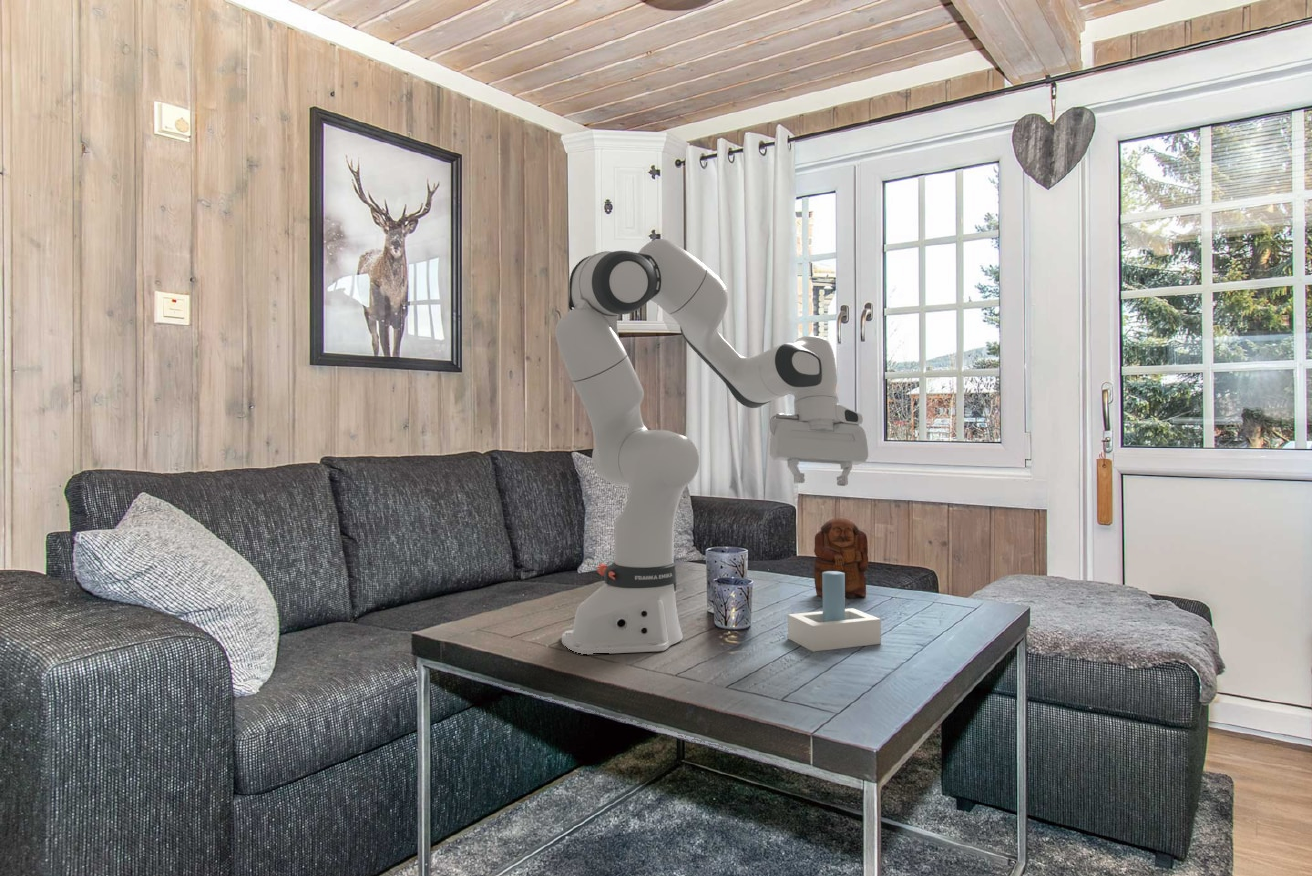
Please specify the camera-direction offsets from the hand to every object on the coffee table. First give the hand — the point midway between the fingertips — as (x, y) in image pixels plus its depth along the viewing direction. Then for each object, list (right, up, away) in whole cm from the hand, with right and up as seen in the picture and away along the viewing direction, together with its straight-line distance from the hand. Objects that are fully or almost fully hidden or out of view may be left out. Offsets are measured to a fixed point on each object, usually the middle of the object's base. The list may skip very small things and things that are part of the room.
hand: (821, 484), depth 154 cm
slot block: (0, -28, -10) cm, 30 cm away
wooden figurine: (+11, -28, +28) cm, 41 cm away
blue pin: (0, -28, -10) cm, 29 cm away
